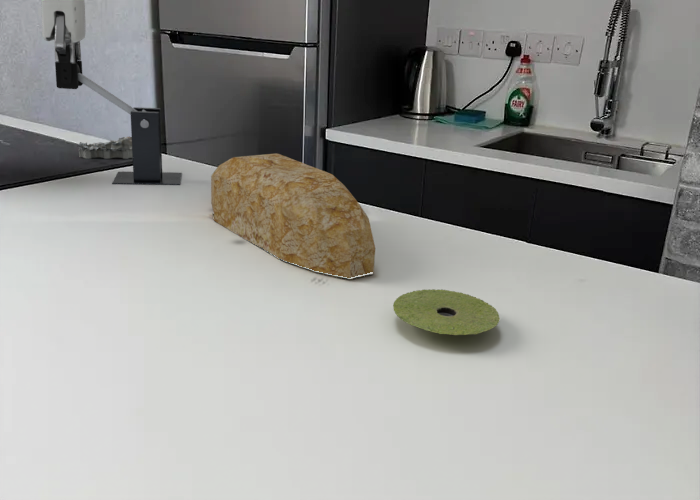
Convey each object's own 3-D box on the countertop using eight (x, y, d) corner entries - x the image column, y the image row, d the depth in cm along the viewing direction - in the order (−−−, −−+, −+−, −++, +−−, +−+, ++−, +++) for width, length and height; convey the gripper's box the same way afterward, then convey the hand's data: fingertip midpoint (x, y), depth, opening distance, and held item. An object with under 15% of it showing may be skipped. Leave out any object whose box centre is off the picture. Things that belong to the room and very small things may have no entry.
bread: (191, 207, 107) (190, 144, 104) (252, 199, 114) (253, 139, 110) (324, 286, 81) (328, 205, 78) (393, 270, 87) (400, 194, 84)
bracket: (112, 190, 114) (107, 112, 109) (118, 178, 121) (114, 105, 117) (180, 190, 116) (178, 115, 111) (182, 178, 123) (180, 107, 119)
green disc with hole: (408, 354, 67) (410, 336, 66) (380, 305, 77) (381, 289, 76) (515, 349, 69) (518, 331, 68) (473, 302, 79) (475, 287, 79)
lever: (52, 73, 108) (63, 56, 107) (56, 71, 111) (67, 54, 110) (147, 135, 114) (158, 119, 113) (149, 131, 117) (159, 116, 116)
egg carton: (138, 156, 138) (137, 136, 136) (135, 164, 131) (134, 143, 129) (82, 155, 135) (80, 134, 134) (76, 163, 129) (74, 142, 127)
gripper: (49, -36, 111) (56, 79, 117) (23, -40, 96) (32, 92, 102) (97, -32, 113) (102, 82, 119) (79, -35, 97) (85, 95, 104)
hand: (70, 85), depth 110 cm, fingers closed on lever, 3 cm apart
